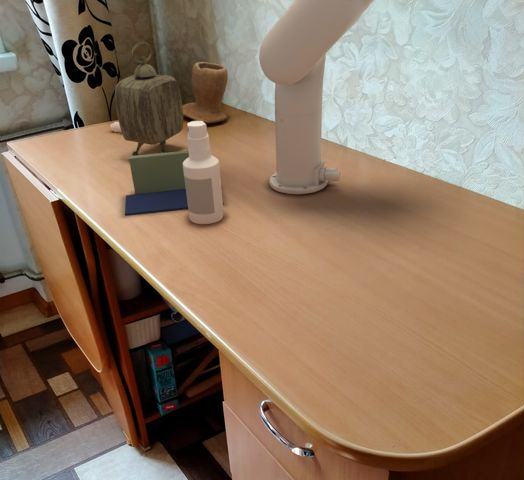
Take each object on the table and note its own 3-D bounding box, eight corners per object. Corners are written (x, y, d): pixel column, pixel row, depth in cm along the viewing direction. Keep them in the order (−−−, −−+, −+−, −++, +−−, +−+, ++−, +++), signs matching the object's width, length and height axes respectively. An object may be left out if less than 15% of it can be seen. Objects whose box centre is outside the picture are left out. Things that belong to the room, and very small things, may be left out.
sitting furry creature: (139, 123, 166) (132, 79, 159) (155, 129, 161) (148, 83, 153) (110, 131, 162) (101, 85, 154) (125, 137, 156) (116, 90, 149)
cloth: (223, 205, 118) (223, 203, 118) (125, 215, 116) (124, 213, 115) (218, 187, 125) (218, 185, 125) (126, 196, 123) (125, 195, 123)
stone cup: (238, 121, 164) (234, 63, 155) (201, 129, 159) (195, 70, 150) (213, 110, 175) (208, 55, 165) (177, 117, 170) (170, 61, 161)
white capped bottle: (186, 213, 115) (174, 120, 104) (219, 208, 117) (210, 116, 106) (193, 227, 110) (181, 131, 99) (227, 221, 111) (219, 126, 100)
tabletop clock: (162, 142, 152) (147, 36, 136) (189, 147, 148) (177, 38, 133) (125, 159, 142) (104, 47, 127) (153, 165, 138) (135, 50, 123)
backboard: (209, 187, 126) (205, 151, 121) (135, 195, 124) (128, 158, 119) (208, 185, 127) (204, 148, 122) (135, 192, 125) (128, 156, 120)
